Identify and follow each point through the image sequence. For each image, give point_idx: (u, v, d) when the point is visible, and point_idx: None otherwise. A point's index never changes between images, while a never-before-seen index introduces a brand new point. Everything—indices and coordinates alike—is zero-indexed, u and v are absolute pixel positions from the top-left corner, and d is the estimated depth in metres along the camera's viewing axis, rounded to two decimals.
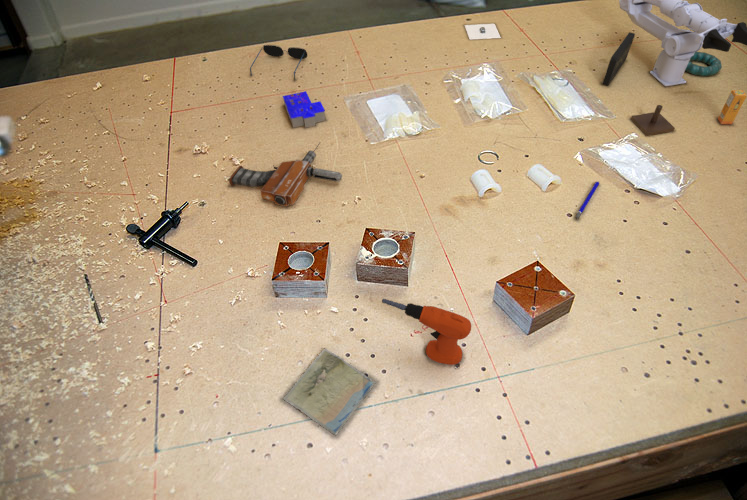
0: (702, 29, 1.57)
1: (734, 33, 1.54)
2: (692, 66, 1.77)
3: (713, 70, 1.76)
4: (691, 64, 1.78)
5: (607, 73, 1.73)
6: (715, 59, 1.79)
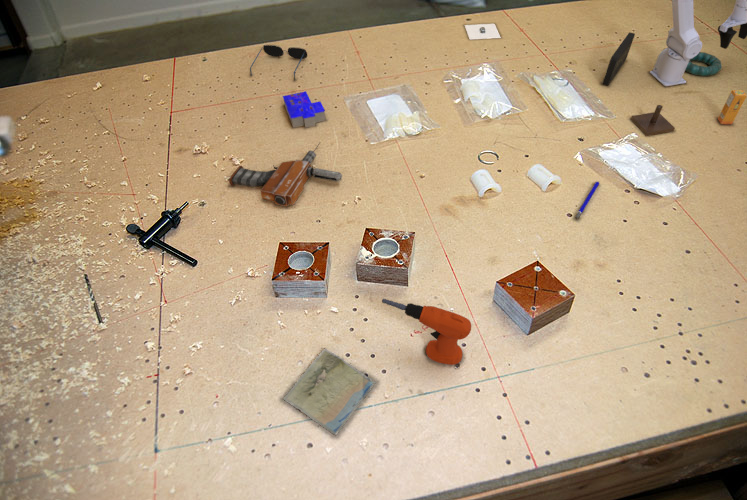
0: (738, 10, 1.64)
1: None
2: (692, 66, 1.77)
3: (713, 70, 1.76)
4: (691, 64, 1.78)
5: (607, 74, 1.73)
6: (715, 59, 1.79)
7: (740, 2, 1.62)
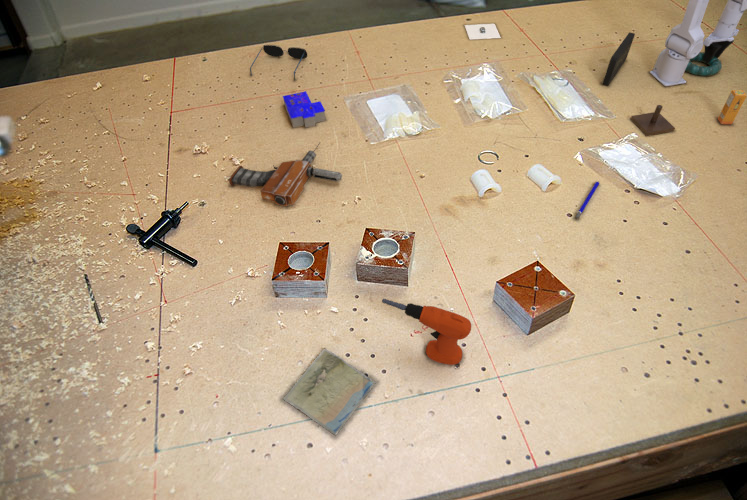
0: (721, 27, 1.72)
1: None
2: (692, 66, 1.77)
3: (713, 70, 1.76)
4: (691, 64, 1.78)
5: (607, 74, 1.73)
6: (715, 59, 1.79)
7: (726, 19, 1.70)
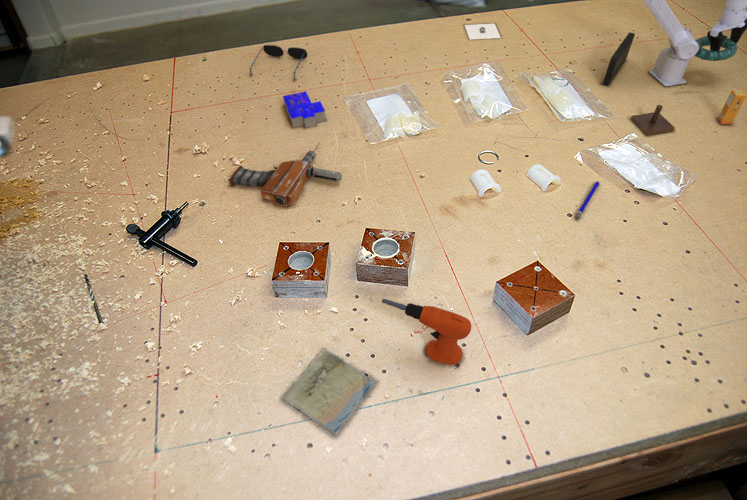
0: (728, 14, 1.59)
1: None
2: (699, 50, 1.67)
3: (722, 55, 1.64)
4: (699, 48, 1.67)
5: (607, 74, 1.73)
6: (731, 43, 1.66)
7: (727, 4, 1.58)
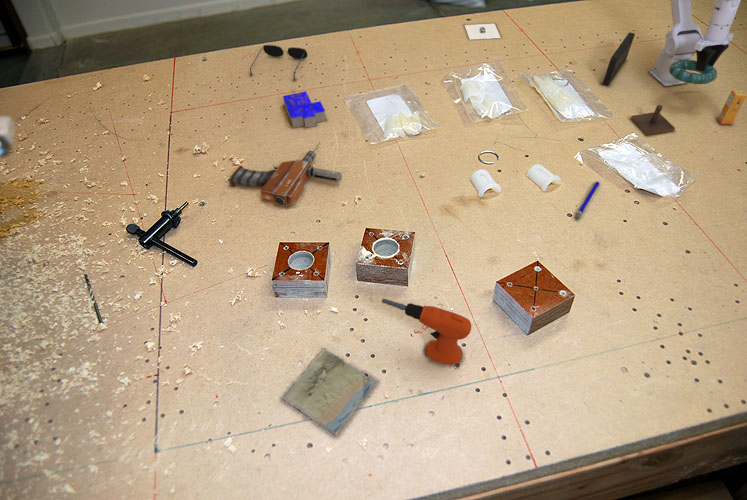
0: (713, 29, 1.52)
1: (715, 44, 1.58)
2: (682, 72, 1.57)
3: (706, 78, 1.55)
4: (681, 70, 1.57)
5: (607, 73, 1.73)
6: (710, 68, 1.58)
7: None
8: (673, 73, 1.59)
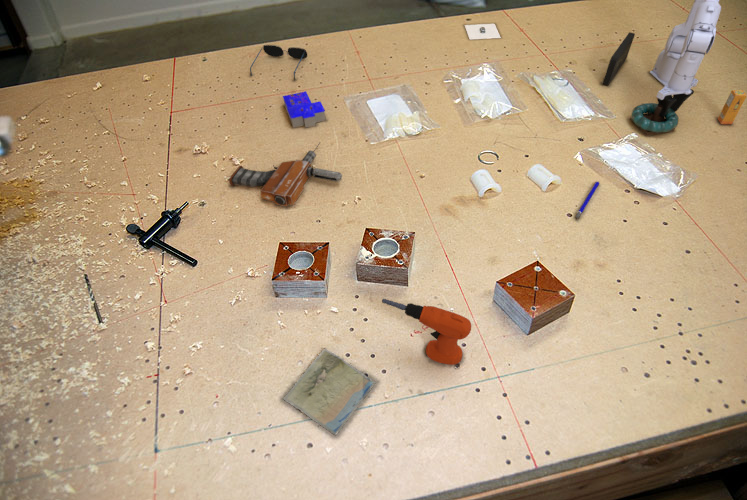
0: (676, 79, 1.50)
1: None
2: (642, 120, 1.56)
3: (665, 127, 1.54)
4: (642, 118, 1.56)
5: (607, 74, 1.73)
6: (672, 114, 1.57)
7: None
8: (634, 120, 1.58)
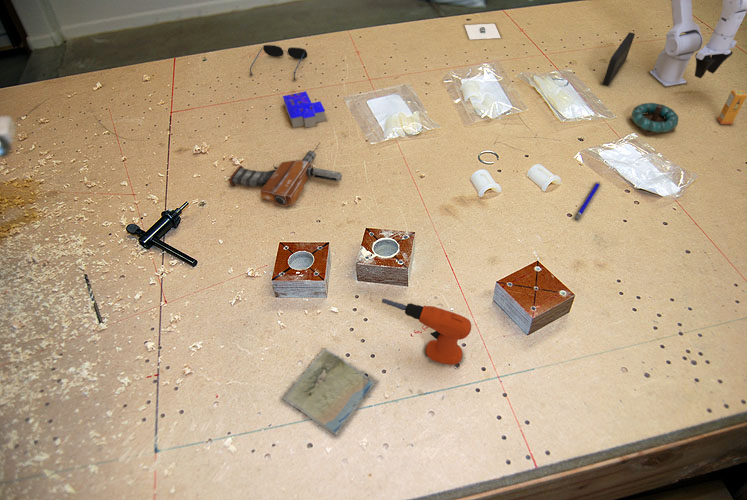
0: (716, 39, 1.54)
1: None
2: (642, 120, 1.56)
3: (665, 127, 1.54)
4: (642, 118, 1.56)
5: (607, 74, 1.73)
6: (672, 114, 1.57)
7: None
8: (634, 120, 1.58)
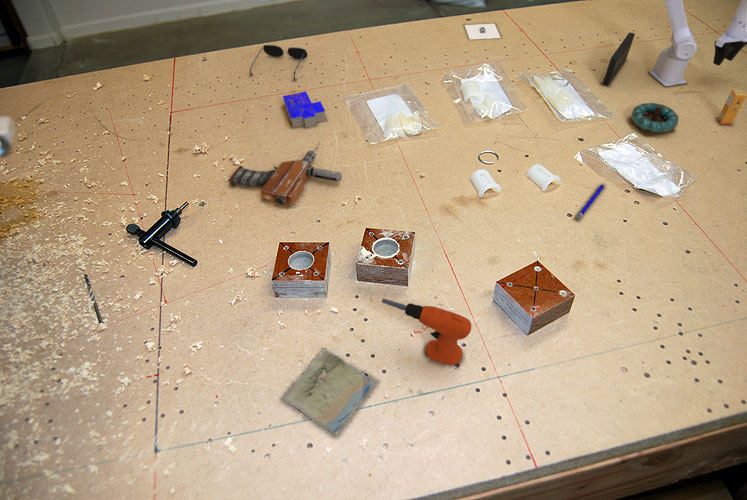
0: (735, 26, 1.59)
1: None
2: (642, 120, 1.56)
3: (665, 127, 1.54)
4: (642, 118, 1.56)
5: (607, 74, 1.73)
6: (672, 114, 1.57)
7: (735, 15, 1.58)
8: (634, 120, 1.58)
